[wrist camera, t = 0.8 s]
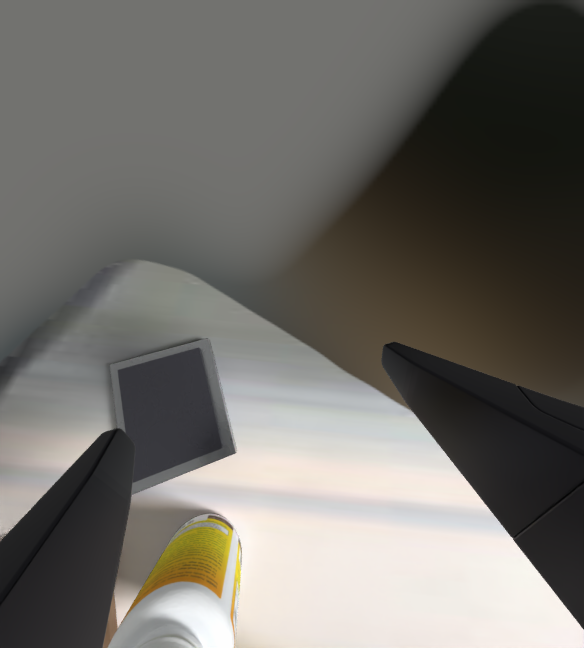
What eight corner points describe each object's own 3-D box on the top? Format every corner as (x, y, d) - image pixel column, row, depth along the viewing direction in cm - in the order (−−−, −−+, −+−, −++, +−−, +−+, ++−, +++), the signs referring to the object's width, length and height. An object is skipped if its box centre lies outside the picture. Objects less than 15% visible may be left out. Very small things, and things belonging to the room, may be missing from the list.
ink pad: (236, 450, 20) (235, 454, 18) (133, 491, 18) (121, 500, 16) (210, 341, 22) (206, 336, 20) (117, 366, 20) (105, 363, 18)
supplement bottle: (153, 541, 17) (18, 727, 7) (224, 494, 18) (191, 596, 9) (181, 627, 16) (66, 982, 6) (255, 568, 17) (255, 779, 8)
